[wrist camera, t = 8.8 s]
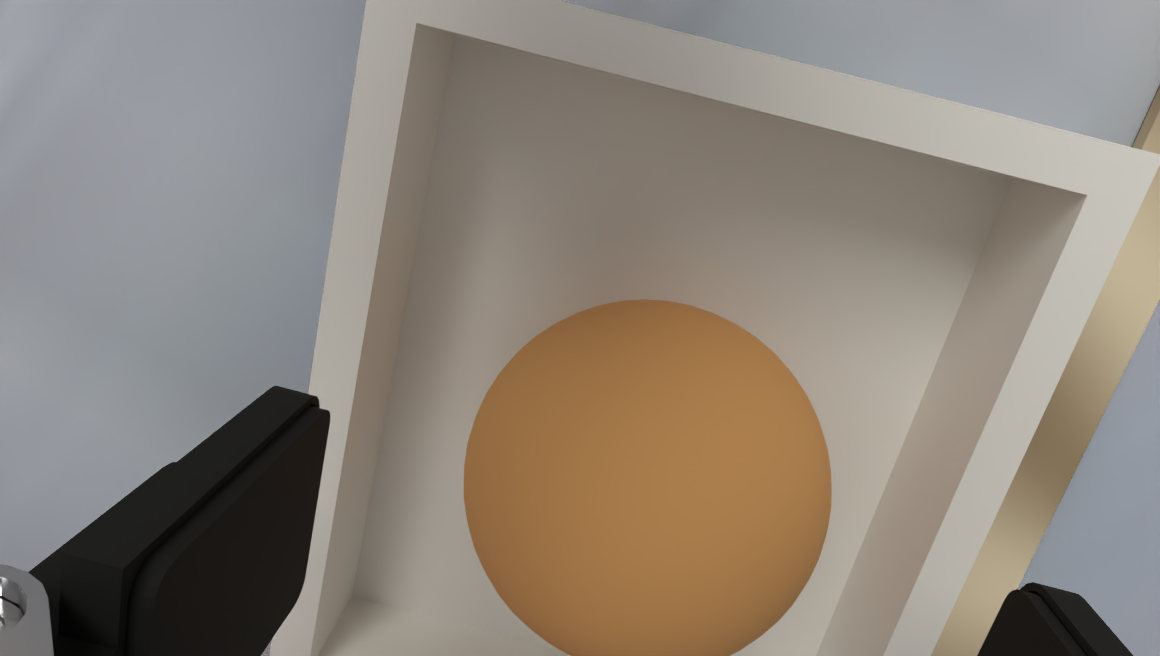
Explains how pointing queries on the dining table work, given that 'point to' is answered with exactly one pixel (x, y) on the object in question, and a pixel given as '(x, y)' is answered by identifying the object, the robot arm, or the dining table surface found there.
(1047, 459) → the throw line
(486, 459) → the ball
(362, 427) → the tray
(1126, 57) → the dining table surface
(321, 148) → the dining table surface
